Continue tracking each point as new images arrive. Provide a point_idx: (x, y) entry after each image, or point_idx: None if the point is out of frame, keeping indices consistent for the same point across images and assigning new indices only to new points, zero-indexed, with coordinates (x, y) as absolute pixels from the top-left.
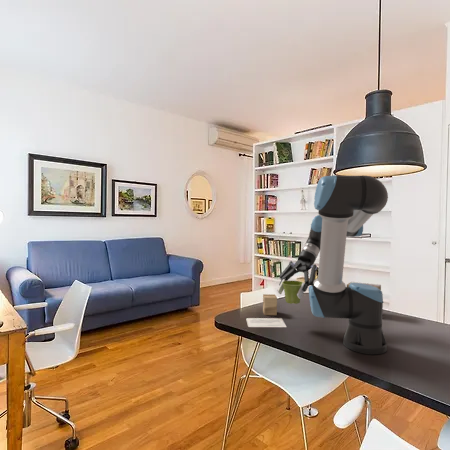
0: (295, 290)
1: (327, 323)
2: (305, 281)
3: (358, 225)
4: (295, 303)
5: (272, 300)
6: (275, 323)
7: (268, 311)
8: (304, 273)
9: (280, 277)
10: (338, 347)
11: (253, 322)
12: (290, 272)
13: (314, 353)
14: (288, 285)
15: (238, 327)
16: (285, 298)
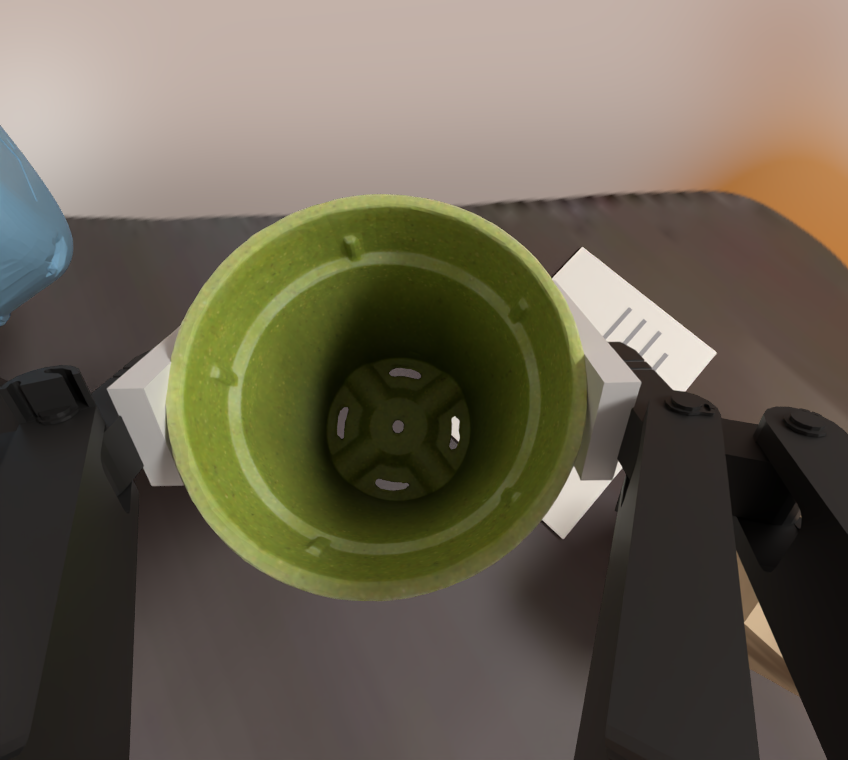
0: (287, 316)
1: (262, 724)
2: (46, 374)
3: None
4: (339, 387)
5: (745, 574)
6: None
7: None
8: (29, 633)
9: (765, 422)
10: (58, 362)
11: (621, 325)
12: (641, 569)
13: (132, 218)
14: (349, 204)
15: (614, 210)
16: (451, 359)
